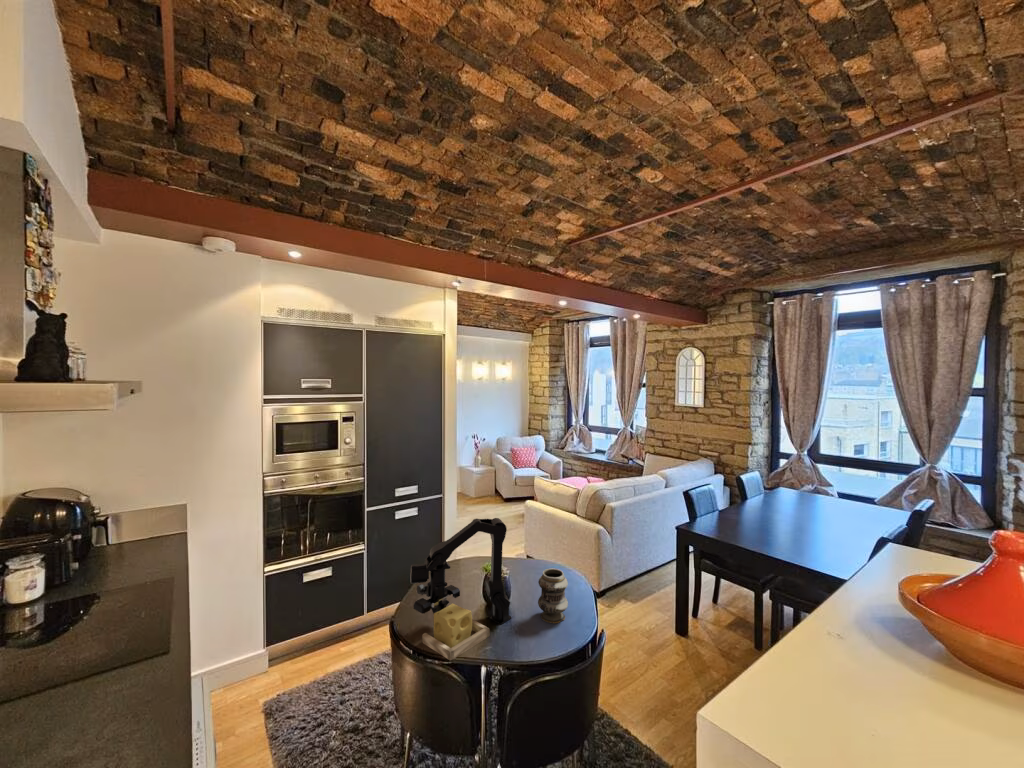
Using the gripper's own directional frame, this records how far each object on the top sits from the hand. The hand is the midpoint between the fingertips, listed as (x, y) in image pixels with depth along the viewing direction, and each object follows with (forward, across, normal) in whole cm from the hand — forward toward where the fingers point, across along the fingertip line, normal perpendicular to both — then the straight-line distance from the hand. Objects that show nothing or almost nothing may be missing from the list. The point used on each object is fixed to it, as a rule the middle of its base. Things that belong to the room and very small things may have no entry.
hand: (437, 620), depth 167 cm
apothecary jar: (+3, -36, +29) cm, 46 cm away
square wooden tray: (+3, 0, +10) cm, 10 cm away
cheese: (+4, 0, +9) cm, 10 cm away
